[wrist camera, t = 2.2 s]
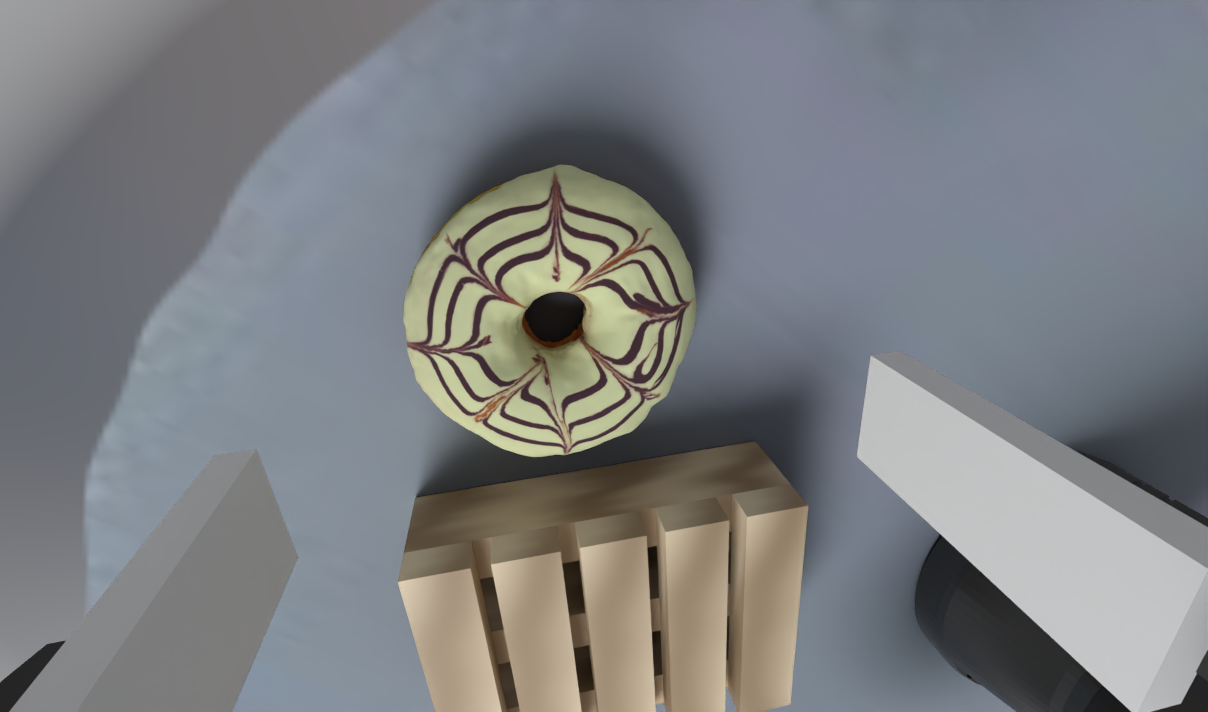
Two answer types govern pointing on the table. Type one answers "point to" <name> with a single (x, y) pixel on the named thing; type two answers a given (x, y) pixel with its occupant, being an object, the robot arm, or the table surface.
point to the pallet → (611, 587)
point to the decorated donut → (529, 270)
